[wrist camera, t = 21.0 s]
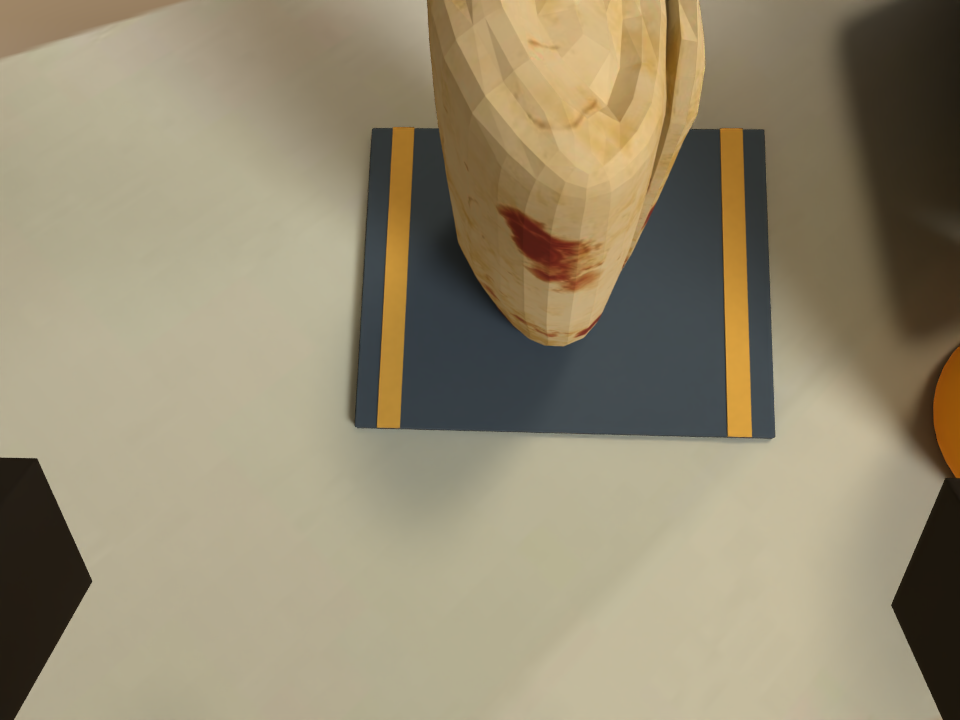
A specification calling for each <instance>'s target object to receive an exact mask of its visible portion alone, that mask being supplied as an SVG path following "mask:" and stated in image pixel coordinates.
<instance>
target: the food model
mask: <svg viewBox="0 0 960 720" xmlns="http://www.w3.org/2000/svg"><path fill="white" fill-rule="evenodd" d="M427 7H428V26H429V43H430V53H431V64H432V75H433V86H434V97H435V105H436V113H437V120H438V127H439V133H440V139H441V145H442V151H443V157H444V163H445V170H446V176H447V182H448V188H449V193H450V199H451V204H452V210H453V215H454V221H455V227H456V233H457V239H458V243H459V245H460V247H461V249H462V251H463V253H464V255H465V257H466V259H467V261H468V263H469V265H470V266H471V268H472V270H473V272H474V274H475V276H476V278H477V279H478V281H479V282H480V284H481V285H482V287H483V288H484V290H485V291H486V292H487V294H488V295H489V296H490V298H491V299H492V300H493V302H494V303H495V304H496V306H497V308H498V310H499V311H500V312H501V313H502V314H503V315H504V316H505V317H506V319H507V320H508V321H509V322H510V323H511V324H512V325H513V326H514V327H515V328H516V329H517V330H519V331H520V332H521V333H522V334H524V335H525V336H526V337H527V338H528V339H531V340H533V341H535V342H537V343H540V344H542V345H545V346H566V345H568V344H570V343H573V342H575V341H577V340H580V339H582V338H584V337H585V336H586V335H587V333H588V332H589V331H590V330H591V329H592V328H593V327H594V325H595V324H596V323H597V321H598V320H599V318H600V316H601V314H602V312H603V310H604V308H605V305H606V303H607V301H608V299H609V296H610V294H611V292H612V290H613V288H614V285H615V283H616V281H617V279H618V277H619V274H620V272H621V271H622V269H623V267H624V266H625V264H626V262H627V261H628V259H629V257H630V256H631V254H632V252H633V250H634V248H635V246H636V244H637V242H638V239H639V237H640V235H641V233H642V231H643V229H644V227H645V225H646V223H647V221H648V219H649V217H650V215H651V213H652V211H653V209H654V207H655V205H656V202H657V200H658V198H659V196H660V194H661V191H662V189H663V187H664V185H665V182H666V180H667V178H668V176H669V173H670V171H671V169H672V166H673V164H674V162H675V159H676V157H677V155H678V152H679V150H680V148H681V145H682V143H683V141H684V139H685V137H686V135H687V133H688V131H689V129H690V128H691V126H692V124H693V122H694V120H695V118H696V116H697V114H698V108H699V102H700V96H701V90H702V84H703V77H704V71H705V65H706V64H705V47H704V33H703V26H702V18H701V11H700V4H699V0H427Z"/></svg>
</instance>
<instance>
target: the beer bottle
mask: <svg viewBox="0 0 960 720" xmlns="http://www.w3.org/2000/svg"><path fill="white" fill-rule="evenodd" d="M933 421H934V428H935V432H936V437H937V442H938V444H939V447H940V449H941V452H942V454H943V457H944V459H945V461H946V463H947V464H948V466H949V467H950V469H951V471H952V472H953V474H954V475H955V477H956V478H960V346H959V347H958V348H957V349H956V350H955V351H954V352H953V354H952V355H951V357H950V358H949V360H948V361H947V363H946V364H945V366H944V367H943V370H942V372H941V375H940V377H939V380H938V382H937V386H936V391H935V397H934V402H933Z"/></svg>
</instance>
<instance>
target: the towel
mask: <svg viewBox="0 0 960 720" xmlns="http://www.w3.org/2000/svg"><path fill="white" fill-rule="evenodd" d="M355 427H357V428H379V429H417V430H456V431H495V432H534V433H572V434H611V435H650V436H689V437H727V438H766V439H772V438H775V417H774V389H773V361H772V333H771V305H770V277H769V248H768V220H767V192H766V164H765V136H764V130H743V128H720V129H689V131H688V133H687V135H686V137H685V139H684V141H683V143H682V145H681V148H680V150H679V152H678V155H677V157H676V159H675V162H674V164H673V166H672V169H671V171H670V173H669V176H668V178H667V180H666V182H665V185H664V187H663V189H662V191H661V194H660V196H659V198H658V200H657V202H656V205H655V207H654V209H653V211H652V213H651V215H650V217H649V219H648V221H647V223H646V225H645V227H644V229H643V231H642V233H641V235H640V237H639V239H638V242H637V244H636V246H635V248H634V250H633V252H632V254H631V256H630V257H629V259H628V261H627V262H626V264H625V266H624V267H623V269H622V271H621V272H620V274H619V277H618V279H617V281H616V283H615V285H614V288H613V290H612V292H611V294H610V296H609V299H608V301H607V303H606V305H605V308H604V310H603V312H602V314H601V316H600V318H599V320H598V321H597V323H596V324H595V325H594V327H593V328H592V329H591V330H590V331H589V332H588V333H587V335H586V336H585V337H584V338H582V339H580V340H577V341H575V342H573V343H570V344H568V345H566V346H545V345H542V344H540V343H537V342H535V341H533V340H531V339H528V338H527V337H526V336H525V335H524V334H522V333H521V332H520V331H519V330H517V329H516V328H515V327H514V326H513V325H512V324H511V323H510V322H509V321H508V320H507V319H506V317H505V316H504V315H503V314H502V313H501V312H500V311H499V310H498V308H497V306H496V304H495V303H494V302H493V300H492V299H491V298H490V296H489V295H488V294H487V292H486V291H485V290H484V288H483V287H482V285H481V284H480V282H479V281H478V279H477V278H476V276H475V274H474V272H473V270H472V268H471V266H470V265H469V263H468V261H467V259H466V257H465V255H464V253H463V251H462V249H461V247H460V245H459V243H458V239H457V233H456V227H455V221H454V215H453V210H452V204H451V199H450V193H449V188H448V182H447V176H446V170H445V163H444V157H443V151H442V145H441V139H440V133H439V128H414V127H393V128H373V129H372V141H371V158H370V175H369V192H368V209H367V225H366V242H365V259H364V276H363V293H362V310H361V327H360V344H359V361H358V378H357V395H356V412H355Z"/></svg>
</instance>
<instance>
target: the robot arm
mask: <svg viewBox="0 0 960 720" xmlns="http://www.w3.org/2000/svg"><path fill="white" fill-rule="evenodd" d="M91 583H92V579H91V577H90V575H89V573H88V570H87V568H86V566H85V564H84V561H83V559H82V557H81V555H80V553H79V550H78V548H77V546H76V544H75V541H74V539H73V537H72V535H71V533H70V530H69V528H68V526H67V524H66V521H65V519H64V517H63V515H62V513H61V510H60V508H59V506H58V504H57V501H56V499H55V497H54V495H53V493H52V490H51V488H50V486H49V484H48V481H47V479H46V477H45V475H44V473H43V470H42V468H41V466H40V464H39V461H38V459H37V458H0V720H14V718H15V717H16V715H17V713H18V711H19V710H20V708H21V706H22V704H23V703H24V701H25V699H26V697H27V696H28V694H29V692H30V690H31V688H32V687H33V685H34V683H35V681H36V680H37V678H38V676H39V674H40V673H41V671H42V669H43V667H44V666H45V664H46V662H47V660H48V658H49V657H50V655H51V653H52V651H53V650H54V648H55V646H56V644H57V643H58V641H59V639H60V637H61V636H62V634H63V632H64V630H65V629H66V627H67V625H68V623H69V621H70V620H71V618H72V616H73V614H74V613H75V611H76V609H77V607H78V606H79V604H80V602H81V600H82V599H83V597H84V595H85V593H86V592H87V590H88V588H89V586H90V584H91ZM891 606H892V608H893V610H894V612H895V615H896V617H897V619H898V621H899V624H900V626H901V628H902V630H903V632H904V635H905V637H906V639H907V641H908V643H909V646H910V648H911V650H912V652H913V655H914V657H915V659H916V661H917V663H918V666H919V668H920V670H921V672H922V674H923V677H924V679H925V681H926V683H927V686H928V688H929V690H930V692H931V694H932V697H933V699H934V701H935V703H936V705H937V708H938V710H939V712H940V714H941V717H942V719H943V720H960V478H945V480H944V483H943V485H942V487H941V490H940V492H939V494H938V497H937V499H936V501H935V504H934V506H933V508H932V511H931V513H930V515H929V518H928V520H927V522H926V525H925V527H924V529H923V532H922V534H921V536H920V539H919V541H918V544H917V546H916V548H915V551H914V553H913V555H912V558H911V560H910V562H909V565H908V567H907V569H906V572H905V574H904V576H903V579H902V581H901V583H900V586H899V588H898V590H897V593H896V595H895V597H894V600H893V602H892V604H891Z"/></svg>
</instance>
